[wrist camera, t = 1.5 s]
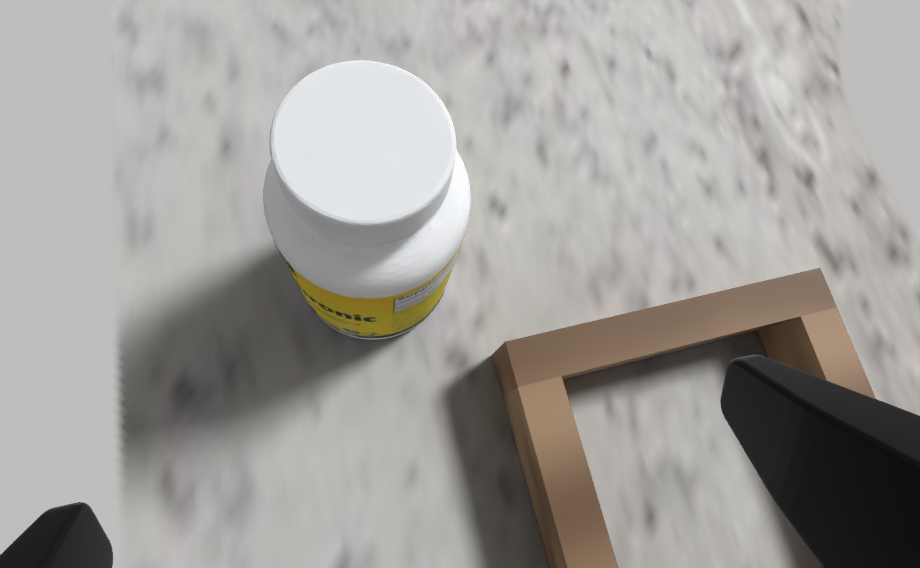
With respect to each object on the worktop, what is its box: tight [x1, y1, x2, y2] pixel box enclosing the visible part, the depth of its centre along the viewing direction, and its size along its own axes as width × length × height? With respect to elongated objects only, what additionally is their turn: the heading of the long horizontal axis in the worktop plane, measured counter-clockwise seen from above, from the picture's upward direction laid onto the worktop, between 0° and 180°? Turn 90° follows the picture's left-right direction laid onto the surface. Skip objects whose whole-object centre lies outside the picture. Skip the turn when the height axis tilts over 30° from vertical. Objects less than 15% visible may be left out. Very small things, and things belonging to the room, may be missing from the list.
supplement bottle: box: [263, 60, 471, 340], centre depth 17 cm, size 5×5×10 cm
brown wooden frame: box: [492, 268, 876, 568], centre depth 20 cm, size 12×12×2 cm
